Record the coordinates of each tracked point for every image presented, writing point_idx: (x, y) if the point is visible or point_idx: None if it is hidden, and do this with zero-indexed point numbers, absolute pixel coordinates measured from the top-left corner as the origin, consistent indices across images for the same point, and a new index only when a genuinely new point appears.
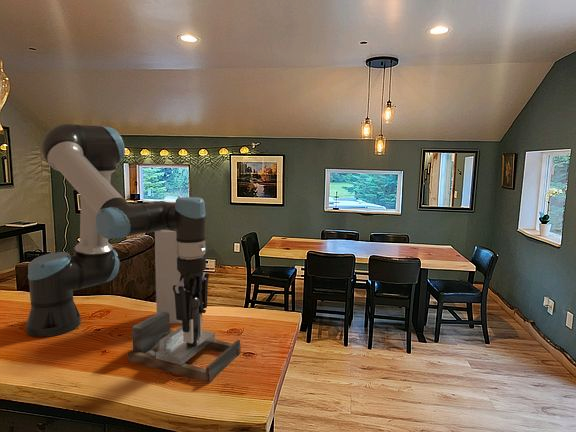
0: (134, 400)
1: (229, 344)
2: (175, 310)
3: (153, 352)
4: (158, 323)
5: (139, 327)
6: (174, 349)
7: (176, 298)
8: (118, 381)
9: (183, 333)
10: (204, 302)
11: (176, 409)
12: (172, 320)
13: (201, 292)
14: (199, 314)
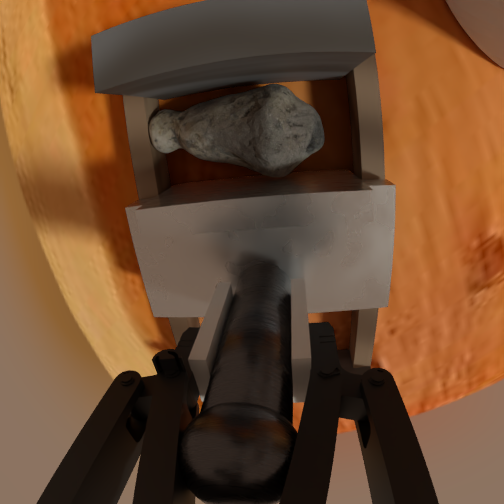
0: (51, 255)
1: (363, 348)
2: (486, 7)
3: (170, 144)
4: (255, 62)
5: (104, 69)
6: (183, 255)
7: (56, 490)
8: (60, 153)
9: (210, 305)
10: (361, 441)
11: (94, 345)
12: (455, 6)
13: (379, 490)
14: (295, 397)
